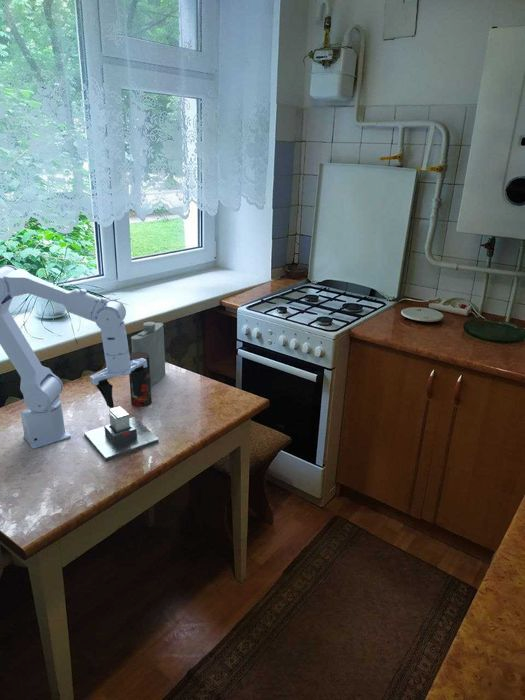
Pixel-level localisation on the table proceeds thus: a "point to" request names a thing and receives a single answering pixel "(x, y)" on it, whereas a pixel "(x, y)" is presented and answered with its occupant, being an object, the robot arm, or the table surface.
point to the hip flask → (152, 348)
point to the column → (119, 420)
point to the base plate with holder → (120, 439)
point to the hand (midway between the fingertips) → (124, 400)
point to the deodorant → (146, 386)
